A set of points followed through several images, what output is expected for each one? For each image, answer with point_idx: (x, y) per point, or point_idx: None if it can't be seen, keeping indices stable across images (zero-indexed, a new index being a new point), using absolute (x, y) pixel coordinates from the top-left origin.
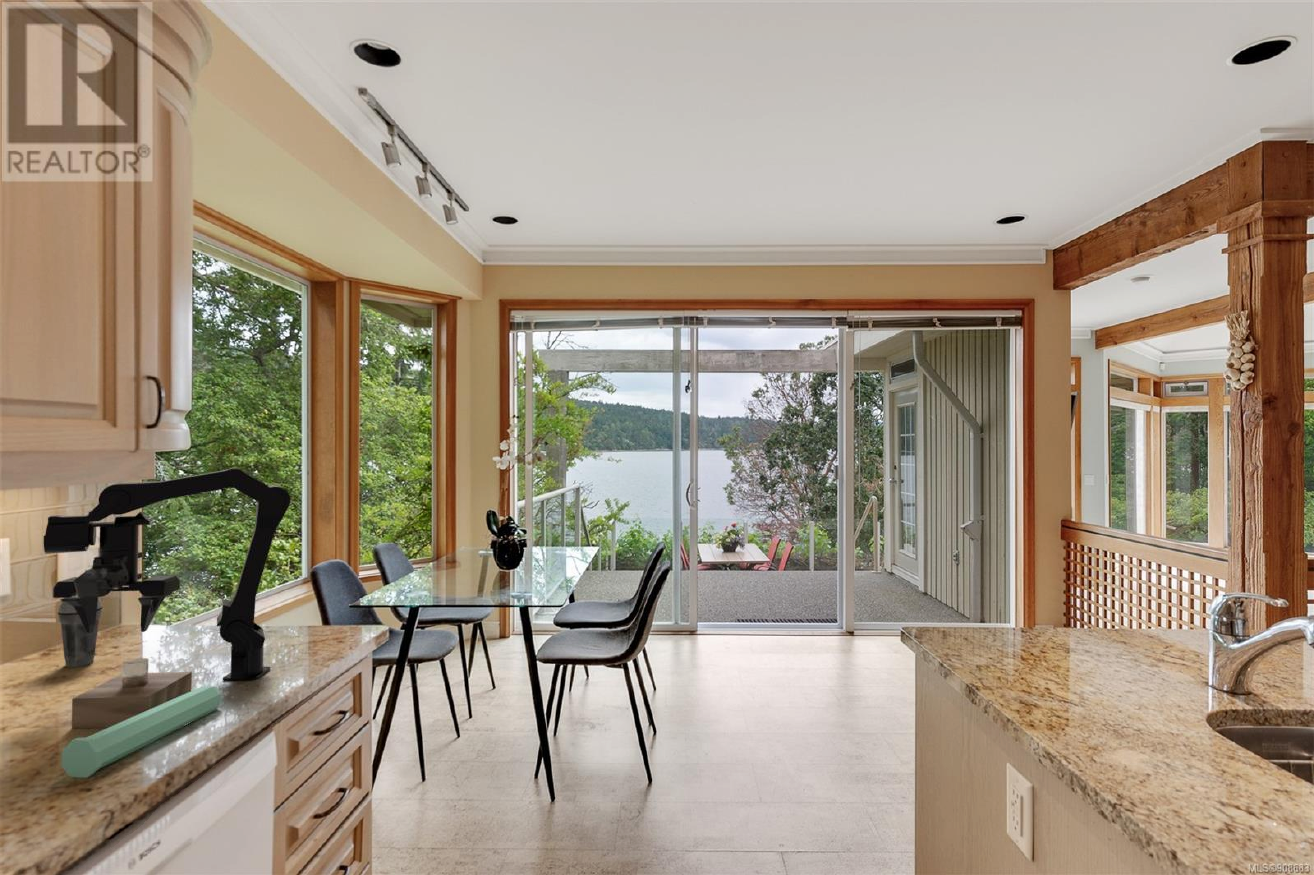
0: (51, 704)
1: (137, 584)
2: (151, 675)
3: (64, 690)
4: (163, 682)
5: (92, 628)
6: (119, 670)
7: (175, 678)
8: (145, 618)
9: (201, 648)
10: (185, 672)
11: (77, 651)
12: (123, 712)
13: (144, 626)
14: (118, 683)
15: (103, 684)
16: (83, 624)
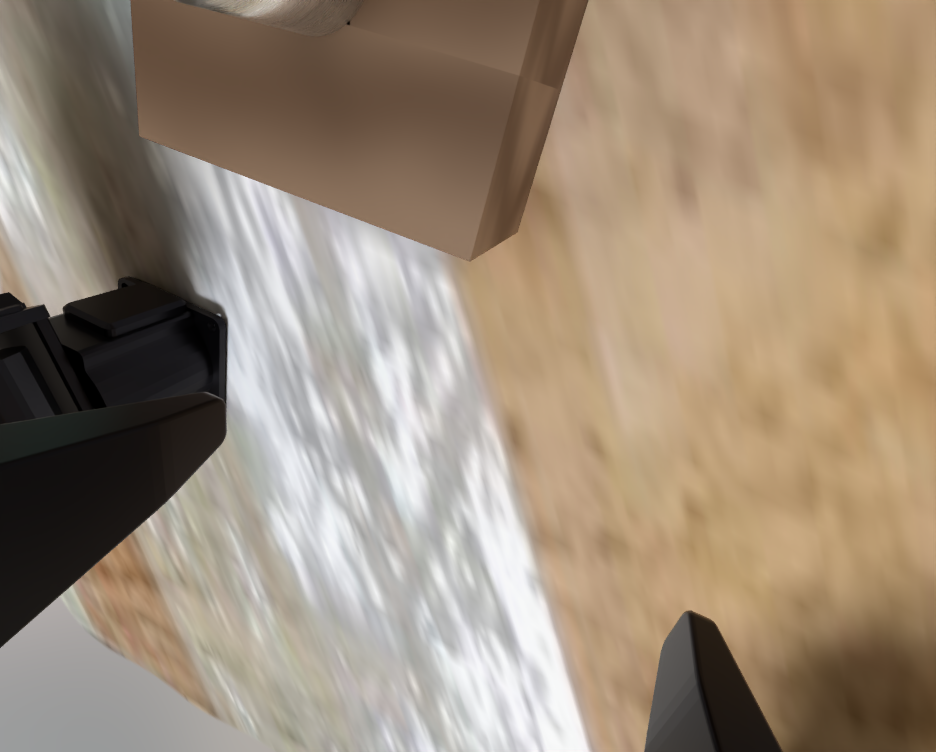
0: (860, 329)
1: None
2: (299, 142)
3: (825, 523)
4: None
5: (665, 672)
6: (636, 654)
7: (152, 17)
8: (30, 421)
9: (424, 712)
10: (160, 132)
11: None
12: None
13: (148, 402)
14: (421, 15)
15: (511, 27)
16: (768, 734)
